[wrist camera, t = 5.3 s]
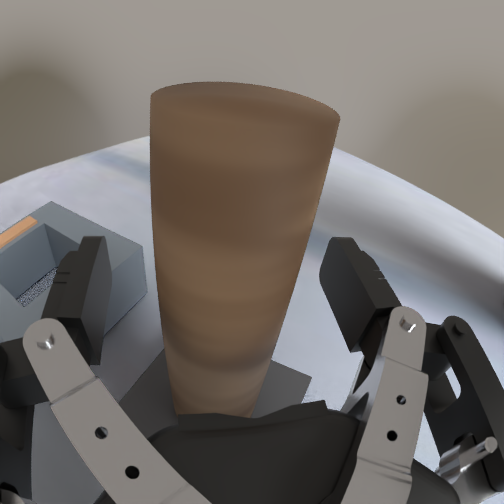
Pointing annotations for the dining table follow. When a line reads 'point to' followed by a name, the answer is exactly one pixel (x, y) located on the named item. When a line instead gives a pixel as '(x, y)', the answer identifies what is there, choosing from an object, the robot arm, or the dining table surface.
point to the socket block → (49, 256)
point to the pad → (161, 402)
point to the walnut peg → (230, 229)
